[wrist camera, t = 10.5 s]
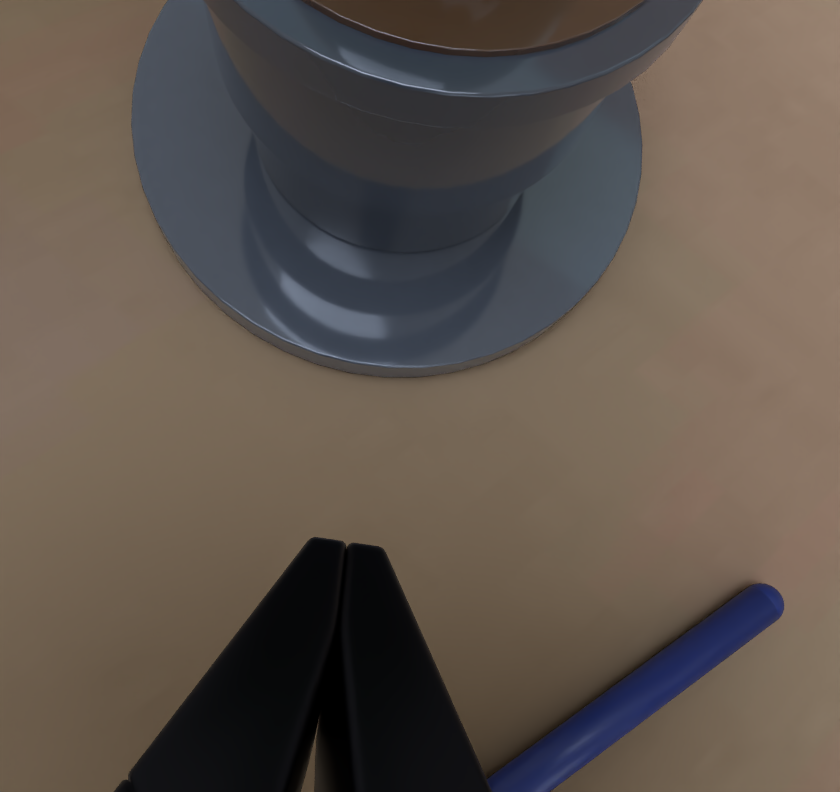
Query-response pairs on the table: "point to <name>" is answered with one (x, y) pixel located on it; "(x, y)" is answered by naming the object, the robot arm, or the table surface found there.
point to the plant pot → (396, 165)
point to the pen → (640, 693)
